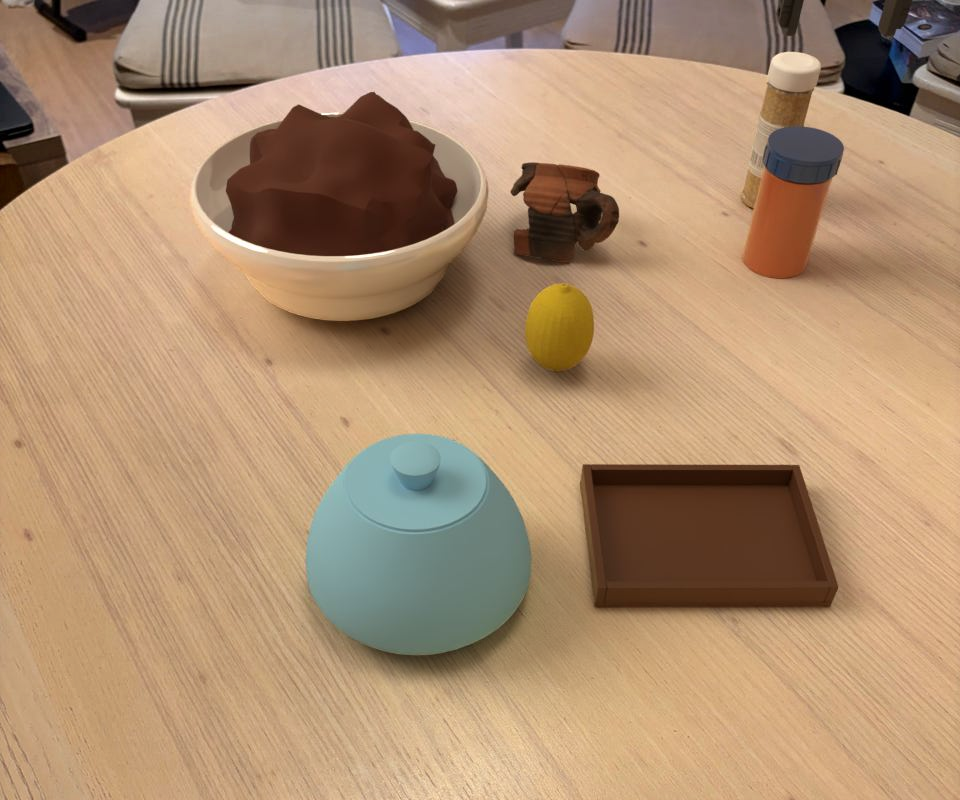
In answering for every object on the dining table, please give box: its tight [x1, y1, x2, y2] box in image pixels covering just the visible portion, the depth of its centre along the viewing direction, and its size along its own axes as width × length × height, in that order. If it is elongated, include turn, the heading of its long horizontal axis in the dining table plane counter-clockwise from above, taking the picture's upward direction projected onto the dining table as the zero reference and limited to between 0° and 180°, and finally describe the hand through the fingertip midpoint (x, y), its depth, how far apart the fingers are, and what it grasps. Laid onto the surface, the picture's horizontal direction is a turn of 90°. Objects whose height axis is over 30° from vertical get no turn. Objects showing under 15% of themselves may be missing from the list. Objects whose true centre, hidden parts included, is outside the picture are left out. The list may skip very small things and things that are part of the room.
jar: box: [742, 166, 833, 279], centre depth 93 cm, size 6×6×11 cm
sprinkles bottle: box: [740, 51, 822, 210], centre depth 98 cm, size 5×5×14 cm
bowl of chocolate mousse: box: [189, 91, 489, 322], centre depth 87 cm, size 25×25×15 cm
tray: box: [579, 463, 840, 608], centre depth 72 cm, size 16×12×2 cm
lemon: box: [524, 282, 595, 372], centre depth 82 cm, size 6×6×8 cm
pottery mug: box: [509, 161, 620, 263], centre depth 96 cm, size 12×10×8 cm
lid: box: [762, 126, 845, 183], centre depth 89 cm, size 6×6×2 cm
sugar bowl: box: [305, 433, 532, 656], centre depth 66 cm, size 15×15×12 cm
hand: (836, 32), depth 81 cm, fingers open, 7 cm apart
